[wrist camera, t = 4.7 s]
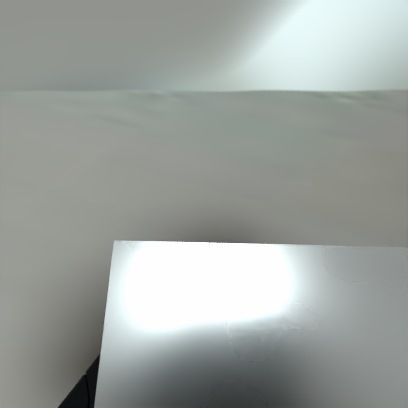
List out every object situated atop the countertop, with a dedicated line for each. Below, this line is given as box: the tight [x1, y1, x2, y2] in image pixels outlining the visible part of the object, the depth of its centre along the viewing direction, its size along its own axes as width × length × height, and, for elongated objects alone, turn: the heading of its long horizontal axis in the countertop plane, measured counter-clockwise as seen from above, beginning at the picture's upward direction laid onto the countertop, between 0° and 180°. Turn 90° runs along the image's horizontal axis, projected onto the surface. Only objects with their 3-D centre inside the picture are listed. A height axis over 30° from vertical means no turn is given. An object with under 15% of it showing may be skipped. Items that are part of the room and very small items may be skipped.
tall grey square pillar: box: [94, 241, 408, 408], centre depth 9 cm, size 6×6×12 cm
